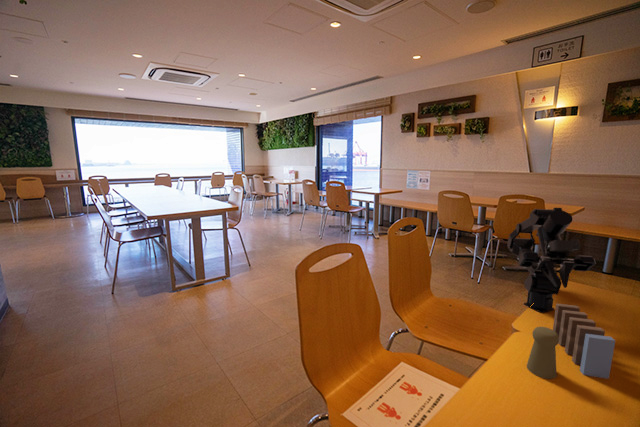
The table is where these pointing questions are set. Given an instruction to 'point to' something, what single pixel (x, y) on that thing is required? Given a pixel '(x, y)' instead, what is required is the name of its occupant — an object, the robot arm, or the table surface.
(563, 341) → the walnut tile
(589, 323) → the walnut tile
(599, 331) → the walnut tile
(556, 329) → the walnut tile
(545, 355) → the pepper shaker
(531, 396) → the table surface
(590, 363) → the slate end tile
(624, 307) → the table surface
